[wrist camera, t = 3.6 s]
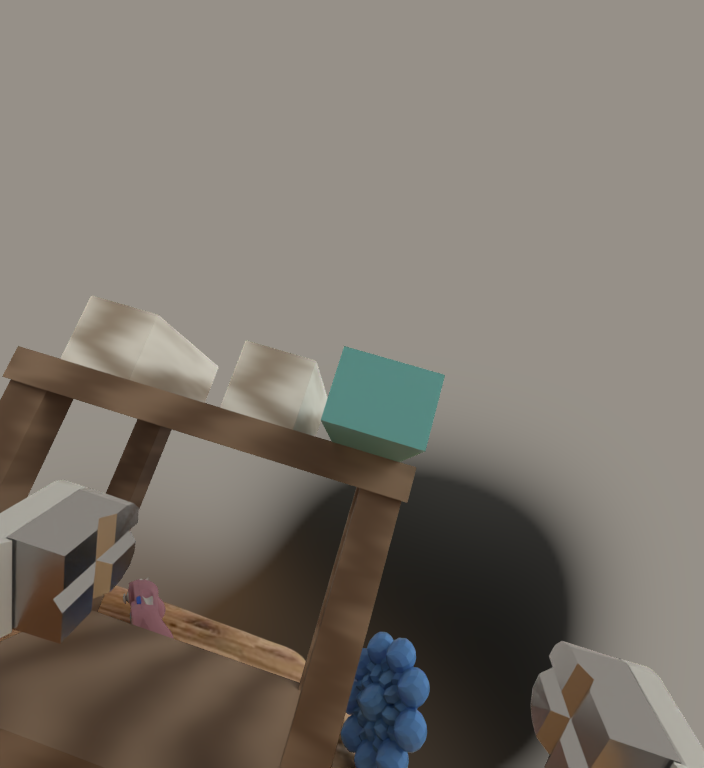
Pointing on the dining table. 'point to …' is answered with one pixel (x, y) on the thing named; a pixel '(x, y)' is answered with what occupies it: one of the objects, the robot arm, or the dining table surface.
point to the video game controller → (146, 607)
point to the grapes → (386, 705)
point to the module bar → (381, 405)
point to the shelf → (130, 482)
